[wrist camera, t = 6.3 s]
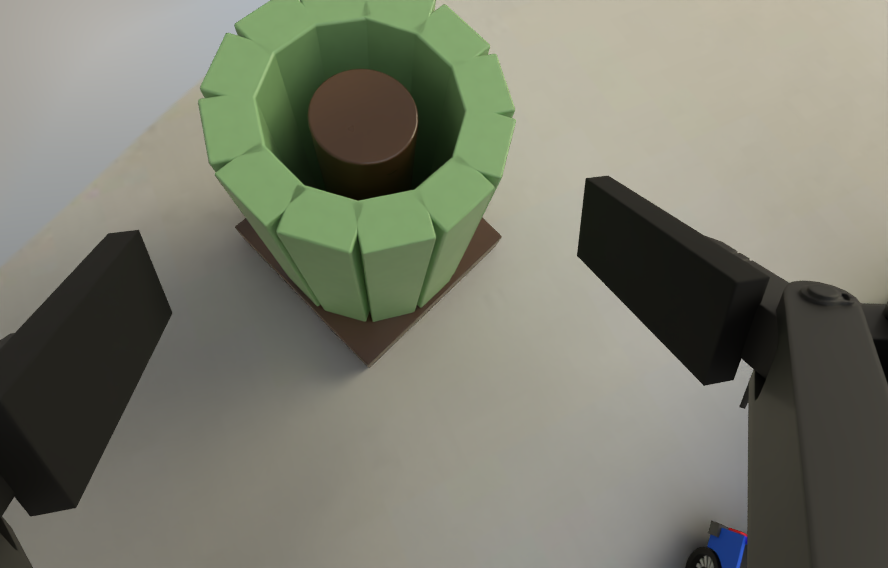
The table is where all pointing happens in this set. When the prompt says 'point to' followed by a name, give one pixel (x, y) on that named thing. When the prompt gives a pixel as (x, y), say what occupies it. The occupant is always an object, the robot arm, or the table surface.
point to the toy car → (721, 549)
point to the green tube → (295, 161)
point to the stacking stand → (368, 184)
